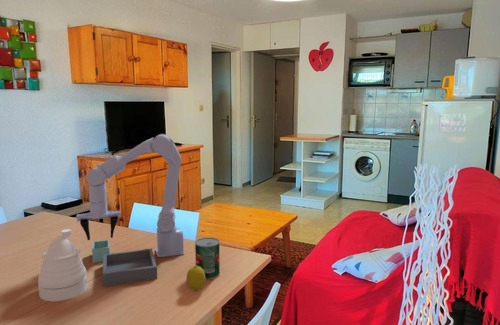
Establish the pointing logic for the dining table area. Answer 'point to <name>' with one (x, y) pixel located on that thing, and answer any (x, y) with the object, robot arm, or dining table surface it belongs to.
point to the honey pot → (62, 271)
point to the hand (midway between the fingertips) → (100, 238)
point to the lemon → (196, 278)
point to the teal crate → (100, 250)
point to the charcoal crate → (129, 267)
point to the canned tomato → (208, 256)
